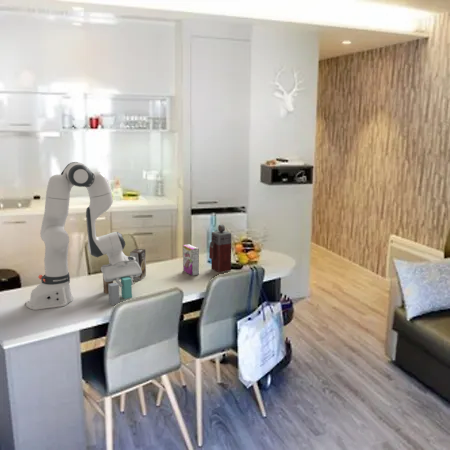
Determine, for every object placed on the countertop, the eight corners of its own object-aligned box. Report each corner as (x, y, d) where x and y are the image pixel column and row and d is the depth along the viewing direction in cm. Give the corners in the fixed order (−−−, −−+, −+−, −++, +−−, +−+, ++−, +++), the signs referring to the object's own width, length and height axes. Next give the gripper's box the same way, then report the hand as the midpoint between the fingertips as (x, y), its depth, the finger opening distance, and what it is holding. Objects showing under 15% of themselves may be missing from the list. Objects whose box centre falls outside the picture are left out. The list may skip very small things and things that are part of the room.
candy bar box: (182, 271, 310) (182, 244, 307) (189, 269, 313) (189, 243, 310) (192, 276, 301) (191, 249, 298) (199, 274, 304) (199, 247, 300)
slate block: (112, 305, 254) (111, 286, 252) (108, 302, 258) (108, 283, 255) (119, 303, 257) (118, 284, 254) (116, 301, 260) (115, 282, 258)
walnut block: (106, 293, 270) (105, 275, 268) (103, 291, 273) (102, 273, 271) (113, 292, 272) (113, 274, 270) (110, 290, 276) (110, 272, 274)
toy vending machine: (207, 269, 315) (208, 224, 309) (223, 266, 321) (223, 222, 315) (215, 273, 307) (215, 227, 301) (231, 270, 313) (231, 225, 307)
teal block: (124, 298, 263) (124, 280, 261) (121, 296, 267) (120, 278, 264) (131, 297, 266) (131, 278, 263) (128, 295, 269) (128, 276, 267)
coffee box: (140, 280, 293) (140, 253, 289) (130, 279, 294) (129, 252, 290) (146, 275, 301) (145, 249, 298) (136, 274, 303) (135, 248, 299)
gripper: (101, 262, 262) (109, 286, 256) (137, 256, 273) (146, 279, 268) (98, 268, 266) (106, 292, 261) (134, 262, 278) (142, 284, 272)
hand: (126, 285), depth 264 cm, fingers closed on teal block, 4 cm apart
